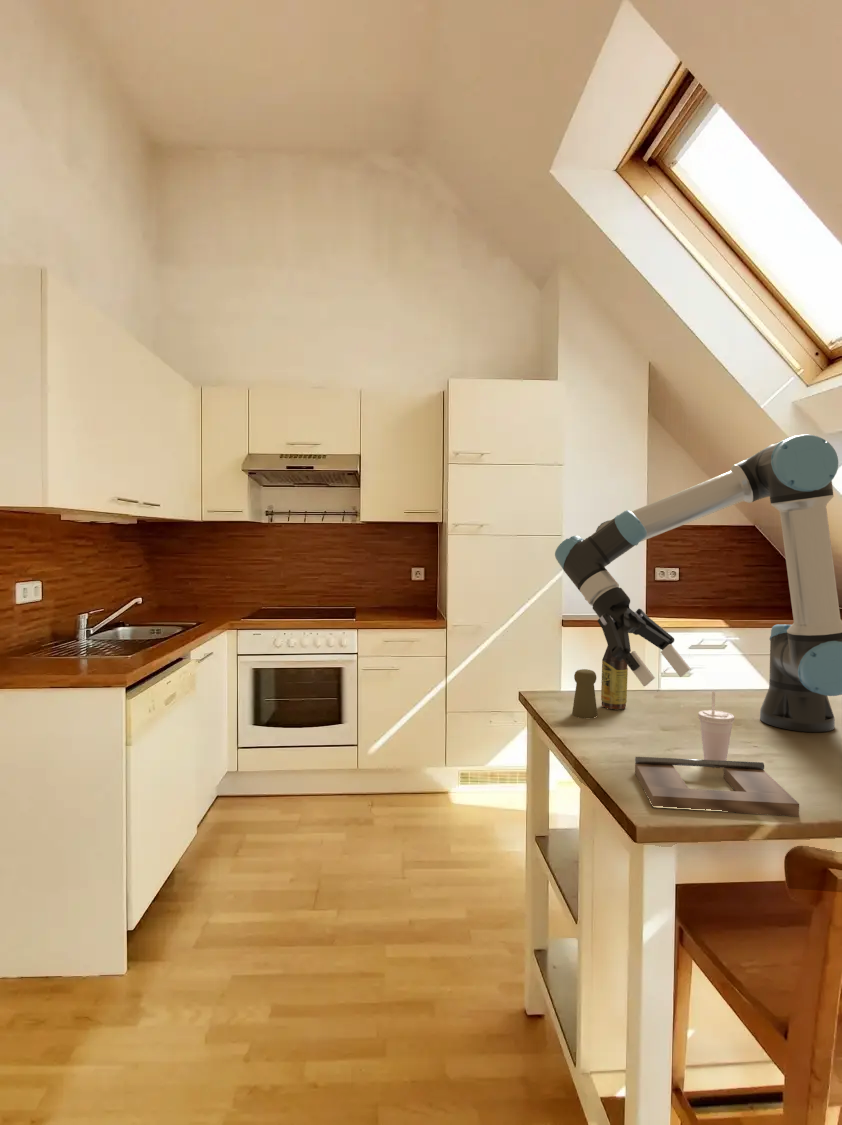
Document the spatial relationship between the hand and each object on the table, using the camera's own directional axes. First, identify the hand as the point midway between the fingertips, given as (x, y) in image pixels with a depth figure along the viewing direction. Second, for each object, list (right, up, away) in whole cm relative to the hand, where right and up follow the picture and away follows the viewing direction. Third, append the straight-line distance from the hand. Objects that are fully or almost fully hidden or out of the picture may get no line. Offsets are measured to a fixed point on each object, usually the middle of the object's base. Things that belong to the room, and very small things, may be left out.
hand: (668, 677), depth 136 cm
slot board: (0, -16, -21) cm, 26 cm away
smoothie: (+7, -16, -7) cm, 18 cm away
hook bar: (+1, -14, -13) cm, 19 cm away
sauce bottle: (-1, -14, +35) cm, 37 cm away
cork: (-10, -14, +28) cm, 33 cm away
